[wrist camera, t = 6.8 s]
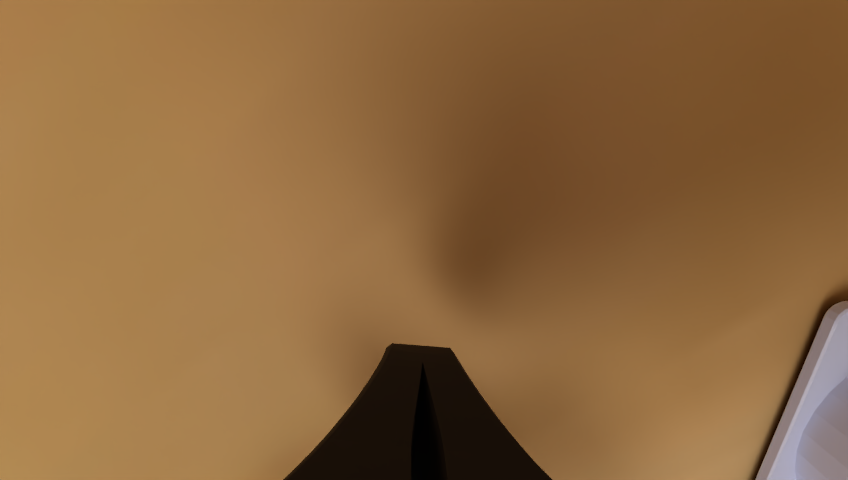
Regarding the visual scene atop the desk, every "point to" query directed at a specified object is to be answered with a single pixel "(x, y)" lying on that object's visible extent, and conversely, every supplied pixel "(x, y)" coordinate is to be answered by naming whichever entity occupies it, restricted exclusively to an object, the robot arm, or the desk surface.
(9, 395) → the desk surface
